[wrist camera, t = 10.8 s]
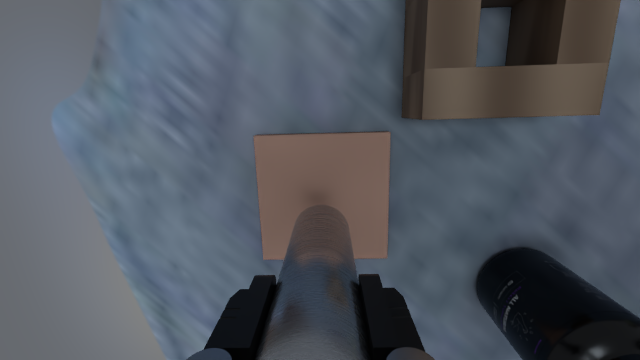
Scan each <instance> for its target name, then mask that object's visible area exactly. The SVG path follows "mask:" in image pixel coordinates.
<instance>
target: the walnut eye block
mask: <svg viewBox="0 0 640 360" xmlns="http://www.w3.org/2000/svg"><path fill="white" fill-rule="evenodd" d="M620 1H621V0H406V7H405V36H404V65H403V94H402V118H411V119H419V120H433V119H469V118H505V117H540V116H576V115H599V114H600V109H601V104H602V98H603V93H604V87H605V82H606V77H607V71H608V66H609V61H610V55H611V50H612V44H613V39H614V34H615V28H616V23H617V18H618V12H619V7H620ZM489 7H512V11H511V20H510V29H509V38H508V47H507V57H506V66H495V67H476V56H477V44H478V33H479V22H480V10H481V8H489Z"/></svg>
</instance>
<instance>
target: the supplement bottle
mask: <svg viewBox="0 0 640 360" xmlns="http://www.w3.org/2000/svg"><path fill="white" fill-rule="evenodd" d="M477 291H478V297H479V300H480V302H481V304H482V306H483V307H484V309H485V310H486V312H487V313H488V314H489V316H490V317H491V319H492V320H493V321H494V322H495V324H496V325H497V326H498V328H499V329H500V330H501V332H502V333H503V334H504V336H505V337H506V338H507V340H508V341H509V342H510V344H511V345H512V346H513V348H514V349H515V350H516V352H517V353H518V354H519V356H520V357H521V358H522V360H640V318H638V317H637V316H635V315H634V314H633V313H631V312H630V311H628V310H627V309H625V308H624V307H623V306H621V305H620V304H618V303H617V302H615V301H614V300H612V299H611V298H610V297H608V296H607V295H605V294H604V293H602V292H601V291H599V290H598V289H597V288H595V287H594V286H592V285H591V284H589V283H588V282H586V281H585V280H584V279H582V278H581V277H579V276H578V275H576V274H575V273H573V272H572V271H571V270H569V269H568V268H566V267H565V266H563V265H562V264H560V263H559V262H557V261H556V260H554V259H553V258H551V257H550V256H548V255H546V254H545V253H542V252H540V251H537V250H532V249H516V250H511V251H508V252H505V253H502V254H500V255H498V256H497V257H495V258H494V259H493V260H491V261H490V262H489V263H488V264H487V265H486V267H485V268H484V269H483V271H482V273H481V275H480V277H479V280H478V286H477Z"/></svg>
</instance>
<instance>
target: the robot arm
mask: <svg viewBox="0 0 640 360" xmlns="http://www.w3.org/2000/svg"><path fill="white" fill-rule="evenodd" d="M275 289H276V277H275V275H256V276H254V279H253V281H252V283H251V285H250V288H249V289H240V290H239V291H238V292H237V293H235V294H234V295H233V296H232V297H231V298H230V299H229V301H228V303H227V305H226V307H225V310H224V311H223V313H222V315H221V317H220V319H219V321H218V323H217V324H216V326H215V328H214V330H213V332H212V334H211V336H210V338H209V340H208V342H207V344H206V346H205V348H204V350H202V351H199V352H197V353H195V354H193V355H192V356H190V357H189V358H188V359H187V360H255V356H256V353H257V350H258V346H259V343H260V339H261V336H262V333H263V329H264V326H265V323H266V319H267V316H268V312H269V309H270V306H271V302H272V299H273V295H274V292H275ZM359 290H360V296H361V302H362V308H363V314H364V319H365V325H366V331H367V337H368V343H369V349H370V354H371V360H435V359H434V358H433V357H431V356H430V355H429V354H427V353H426V352H425V350H424V347H423V345H422V342H421V340H420V337H419V335H418V332H417V330H416V327H415V325H414V322H413V320H412V318H411V315H410V312H409V310H408V308H407V305H406V302H405V300H404V297H403V296H402V295H401V294H400V293H399V292H398V291H397V290H396V289H395V288H383V287H382V283H381V280H380V277H379V274H359Z"/></svg>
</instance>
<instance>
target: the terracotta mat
mask: <svg viewBox="0 0 640 360" xmlns="http://www.w3.org/2000/svg"><path fill="white" fill-rule="evenodd" d="M390 134H391V132H388V131H382V132H344V133H307V134H269V135H255V136H254V148H255V160H256V173H257V185H258V198H259V210H260V223H261V235H262V248H263V260H278V259H284V258H285V255H286V251H287V248H288V245H289V241H290V238H291V235H292V231H293V228H294V224H295V221H296V219H297V217H298V216H299V215H300V213H301V212H303V211H304V210H305V209H307V208H309V207H311V206H314V205H328V206H331V207H334V208H336V209H337V210H339V211H340V212H341V213H342V214H343V215H344V217H345V218H346V220H347V222H348V226H349V231H350V237H351V242H352V248H353V254H354V259H367V258H387V248H388V210H389V172H390Z"/></svg>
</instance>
